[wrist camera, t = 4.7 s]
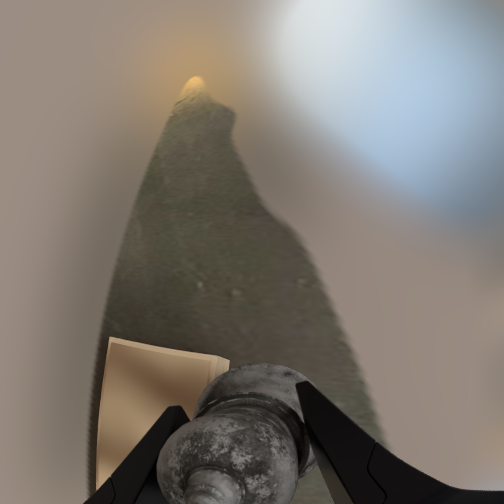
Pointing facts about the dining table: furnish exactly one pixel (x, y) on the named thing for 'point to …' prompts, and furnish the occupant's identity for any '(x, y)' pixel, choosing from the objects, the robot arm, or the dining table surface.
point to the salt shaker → (240, 441)
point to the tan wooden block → (145, 394)
